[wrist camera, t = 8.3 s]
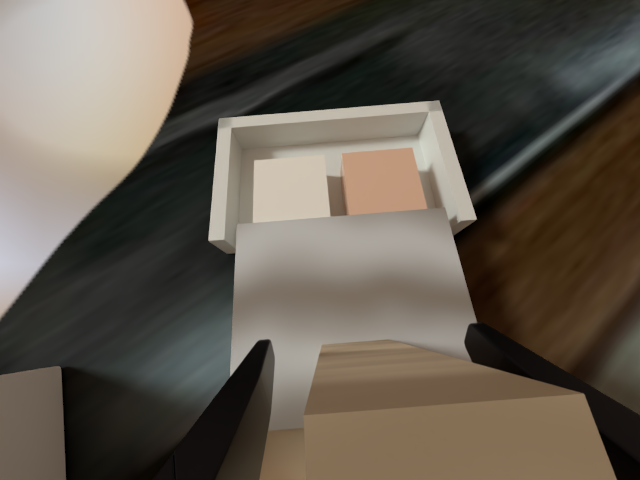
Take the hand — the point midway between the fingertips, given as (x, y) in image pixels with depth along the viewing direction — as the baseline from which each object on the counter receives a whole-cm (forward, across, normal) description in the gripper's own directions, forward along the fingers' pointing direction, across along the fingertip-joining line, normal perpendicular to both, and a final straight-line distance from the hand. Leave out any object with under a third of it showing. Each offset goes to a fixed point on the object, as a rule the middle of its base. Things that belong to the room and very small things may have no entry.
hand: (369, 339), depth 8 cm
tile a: (+12, +3, -1) cm, 12 cm away
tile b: (+12, -3, -1) cm, 12 cm away
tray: (+14, 0, -2) cm, 14 cm away
